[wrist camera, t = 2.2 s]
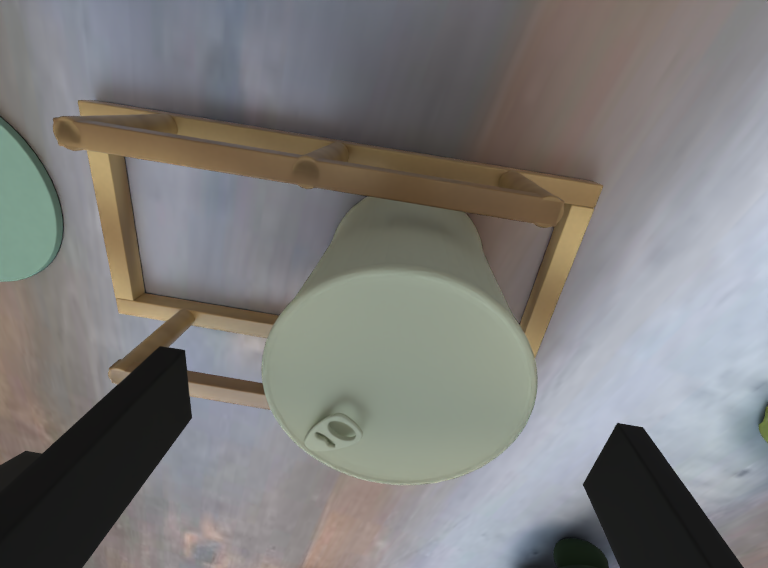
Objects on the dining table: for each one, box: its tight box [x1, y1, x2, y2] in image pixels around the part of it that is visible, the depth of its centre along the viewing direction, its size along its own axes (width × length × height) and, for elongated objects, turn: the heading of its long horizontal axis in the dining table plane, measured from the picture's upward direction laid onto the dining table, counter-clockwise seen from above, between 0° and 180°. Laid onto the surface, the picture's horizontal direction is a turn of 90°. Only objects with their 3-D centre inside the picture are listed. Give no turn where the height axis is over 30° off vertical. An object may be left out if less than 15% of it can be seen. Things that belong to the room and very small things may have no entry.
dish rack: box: [53, 100, 603, 410], centre depth 19 cm, size 13×27×7 cm, turn 82°
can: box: [262, 196, 537, 485], centre depth 17 cm, size 9×9×12 cm
